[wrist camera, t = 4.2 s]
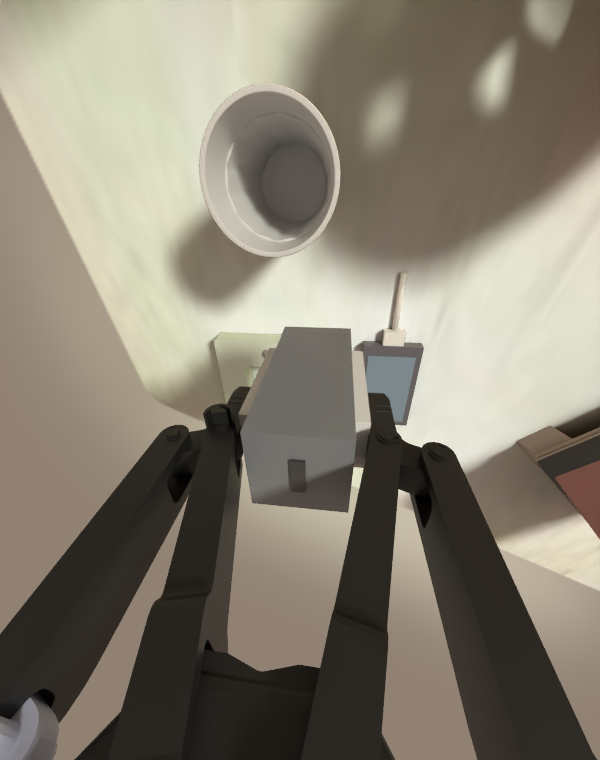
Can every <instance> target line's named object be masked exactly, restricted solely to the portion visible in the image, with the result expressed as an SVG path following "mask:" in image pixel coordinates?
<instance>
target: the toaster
mask: <svg viewBox="0 0 600 760" xmlns="http://www.w3.org/2000/svg"><path fill="white" fill-rule="evenodd" d="M516 442H517V443H518V444H519V445H520V446H521V447H522V449H523V450H524V451H525V452H526V453H527V454H528V455H529V457H530V458H531V459H532V460H533V461H534V462H535V463H536V464H537V465H539V466H540V467H541V468H542V469H543V471H544V472H545V473H546V474H547V475H548V476H549V477H550V479H551V480H552V481H553V482H554V483H555V484H556V486H557V487H558V488H559V489H560V490H561V491H562V492H563V494H564V495H565V497H566V498H567V499H568V500H569V502H570V503H571V504H572V505H573V506H574V507H575V508H576V509H577V511H578V512H579V513H580V514H581V515H582V516H583V517H584V519H585V520H586V521H587V523H588V524H589V525H590V527H591V528H592V529H593V531H594V532H595V533H596V535H597V536H598V538H599V539H600V427H599V428H597V429H594V430H592V431H590V432H587V433H585V434H583V435H580V436H578V437H576V438H570V437H569V436H567V435H565V434H564V433H562V432H560V431H558V430H557V429H555V428H553V427H552V426H548V427H546V428H544V429H542V430H540V431H537V432H535V433H533V434H531V435H529V436H527V437H524V438H522V439H520V440H518V441H516Z"/></svg>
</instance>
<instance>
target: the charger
mask: <svg viewBox="0 0 600 760" xmlns="http://www.w3.org/2000/svg"><path fill="white" fill-rule="evenodd" d="M240 434H241V440H242V446H243V452H244V457H245V463H246V469H247V475H248V480H249V486H250V492H251V498H252V503H258V504H268V505H278V506H288V507H298V508H308V509H318V510H328V511H338V512H348V509H349V500H350V491H351V483H352V474H353V465H354V456H355V448H356V425H355V405H354V386H353V367H352V347H351V329H343V328H310V327H285V328H284V330H283V333H282V335H281V338H280V340H279V342H278V345H277V347H276V349H275V352H274V354H273V356H272V359H271V361H270V363H269V366H268V368H267V370H266V373H265V375H264V377H263V380H262V382H261V384H260V387H259V389H258V391H257V394H256V396H255V399H254V401H253V403H252V406H251V408H250V410H249V413H248V415H247V417H246V420H245V422H244V424H243V427H242V429H241V431H240Z"/></svg>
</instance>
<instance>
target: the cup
mask: <svg viewBox="0 0 600 760" xmlns="http://www.w3.org/2000/svg"><path fill="white" fill-rule="evenodd" d="M199 172H200V182H201V187H202V192H203V195H204V199H205V202H206V204H207V207H208V209H209V211H210V213H211V215H212V217H213V219H214V221H215V222H216V224H217V225H218V227H219V228H220V229H221V231H222V232H223V233H224V234H225V235H226V236H227V237H228V238H229V239H230V240H231V241H232V242H233V243H235V244H236V245H237V246H239V247H240V248H242V249H244V250H246V251H248V252H250V253H253V254H255V255H259V256H263V257H283V256H288V255H291V254H294V253H297V252H299V251H301V250H302V249H304V248H306V247H307V246H309V245H310V244H311V243H312V242H313V241H314V240H316V238H317V237H318V236H319V235H320V234H321V233H322V231H323V230H324V229H325V227H326V226H327V224H328V222H329V220H330V219H331V216H332V214H333V212H334V209H335V206H336V203H337V199H338V194H339V188H340V162H339V155H338V150H337V146H336V143H335V140H334V137H333V135H332V132H331V130H330V128H329V126H328V124H327V122H326V121H325V119H324V117H323V116H322V115H321V113H320V112H319V111H318V109H317V108H316V107H315V106H314V105H313V104H312V103H311V102H310V101H309V100H308V99H307V98H305V97H304V96H303V95H301V94H300V93H298V92H296V91H295V90H293V89H290V88H288V87H285V86H282V85H278V84H271V83H261V84H255V85H250V86H247V87H245V88H242V89H240V90H238V91H237V92H235V93H233V94H232V95H231V96H229V97H228V98H227V99H226V100H225V101H224V102H223V103H222V104H221V105H220V106H219V107H218V109H217V110H216V111H215V113H214V114H213V116H212V118H211V120H210V122H209V123H208V126H207V128H206V131H205V134H204V137H203V140H202V145H201V150H200V160H199Z"/></svg>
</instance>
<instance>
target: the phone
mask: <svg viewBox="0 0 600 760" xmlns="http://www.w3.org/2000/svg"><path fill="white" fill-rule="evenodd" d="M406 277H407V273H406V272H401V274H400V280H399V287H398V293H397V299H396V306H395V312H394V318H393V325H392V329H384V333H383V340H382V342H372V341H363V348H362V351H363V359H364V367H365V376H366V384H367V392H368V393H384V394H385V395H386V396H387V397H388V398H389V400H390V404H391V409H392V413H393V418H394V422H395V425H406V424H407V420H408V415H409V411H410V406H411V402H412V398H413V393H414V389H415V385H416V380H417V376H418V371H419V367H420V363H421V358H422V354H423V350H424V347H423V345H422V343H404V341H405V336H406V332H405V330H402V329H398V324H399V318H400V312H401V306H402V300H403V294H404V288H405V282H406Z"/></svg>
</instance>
